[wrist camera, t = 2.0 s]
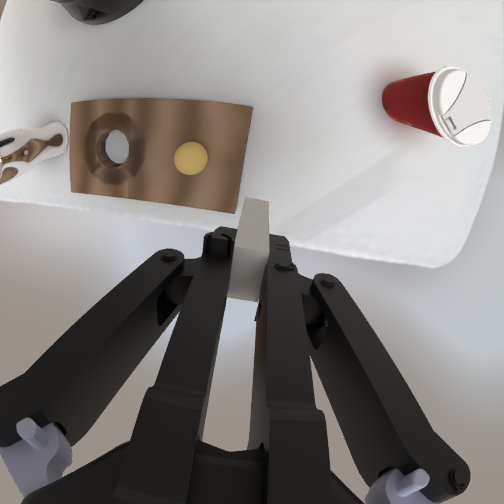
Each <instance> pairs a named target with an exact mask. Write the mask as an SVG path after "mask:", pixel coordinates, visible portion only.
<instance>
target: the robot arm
mask: <svg viewBox="0 0 504 504" xmlns="http://www.w3.org/2000/svg"><path fill="white" fill-rule="evenodd" d="M51 1H55V2H58V3H61V4H62V6H63V7H64V8H65V9H66V10H67V11H68V12H69V13H70V14H71V16H72V17H73V18H75V19H76V20H78V21H81V22H84V23H88V24H103V23H107V22H110V21H112V20H115V19H117V18H119V17H121V16H123V15H124V14H126V13H128V12H129V11H131V10H132V9H133V8H135V7H136V6H137V5H138V4H139V3H140V2H141V1H143V0H51ZM227 297H230V298H235V299H241V300H248V301H254V302H258V300H259V303H258V307H257V312H256V316H255V320H254V321H256V338H255V354H254V371H253V388H252V402H251V418H250V433H249V442H248V447H247V450H244V451H235V452H229V451H225V450H223V449H220V448H217V447H215V446H212V445H210V444H207V443H204V442H202V437H203V431H204V424H205V418H206V413H207V407H208V400H209V395H210V389H211V383H212V377H213V372H214V366H215V361H216V355H217V349H218V343H219V338H220V333H221V328H222V322H223V316H224V311H225V306H226V299H227ZM179 311H180V313H179ZM178 313H179V316H178V318H177V321H176V324H175V327H174V329H173V332H172V335H171V338H170V341H169V344H168V346H167V349H166V352H165V355H164V358H163V361H162V364H161V367H160V370H159V373H158V376H157V379H156V382H155V384H154V386H153V387H149V388H148V389H147V391H146V393H145V396H144V398H143V401H142V404H141V407H140V411H139V414H138V417H137V420H136V423H135V426H134V429H133V433H132V436H131V439H130V441H128V442H125V443H123V444H121V445H119V446H117V447H115V448H114V449H112V450H111V451H109V452H107V453H106V454H104V455H102V456H101V457H99V458H97V459H95V460H94V461H92V462H90V463H88V464H86V465H85V466H83V467H81V468H79V469H77V470H76V471H74V472H72V473H70V474H68V475H66V476H64V477H62V474H63V471H64V470H65V469H66V468H67V467H68V466H70V465H71V463H72V449H71V447H72V446H73V445H75V444H76V443H77V442H78V441H79V440H80V439H81V438H82V437H83V436H84V435H85V434H86V433H87V432H88V431H89V429H90V428H91V427H92V426H93V424H94V423H95V422H96V420H97V419H98V418H99V416H100V415H101V414H102V412H103V411H104V409H105V408H106V407H107V405H108V404H109V403H110V401H111V400H112V399H113V397H114V396H115V395H116V393H117V392H118V391H119V389H120V388H121V387H122V385H123V384H124V383H125V381H126V380H127V379H128V377H129V376H130V375H131V374H132V372H133V371H134V370H135V368H136V367H137V365H138V364H139V363H140V362H141V360H142V359H143V358H144V356H145V355H146V354H147V353H148V351H149V350H150V349H151V347H152V346H153V345H154V344H155V342H156V340H158V338H159V337H160V336H161V334H162V333H163V332H164V331H165V329H166V328H167V327H168V325H169V324H170V323H171V322H172V320H173V319H174V318H175V316H176V315H177V314H178ZM310 356H311V358H312V361H313V363H314V365H315V368H316V370H317V372H318V375H319V377H320V380H321V382H322V385H323V387H324V389H325V392H326V394H327V397H328V399H329V401H330V404H331V406H332V409H333V411H334V413H335V416H336V418H337V421H338V423H339V425H340V428H341V430H342V433H343V435H344V438H345V440H346V443H347V445H348V448H349V450H350V453H351V455H352V458H353V460H354V463H355V465H356V466H357V469H358V471H359V473H360V475H361V476H362V478H363V479H364V481H365V482H366V484H367V485H368V486H369V487H370V489H369V492H368V494H367V495H366V497H365V503H366V504H440V503H442V502H443V501H446V500H448V499H450V498H453V497H455V496H457V495H459V494H461V493H463V492H464V491H465V490H466V488H467V486H468V484H469V482H470V470H469V467H468V465H467V464H466V462H465V461H464V460H463V459H462V458H461V457H460V456H459V455H458V454H457V453H456V452H454V450H453V449H451V447H450V446H449V445H447V444H446V443H445V442H444V441H443V440H442V439H441V438H440V437H439V436H438V435H437V434H436V433H435V432H434V431H433V429H432V427H431V426H430V424H429V422H428V420H427V418H426V417H425V414H424V413H423V411H422V409H421V407H420V406H419V404H418V402H417V401H416V399H415V397H414V395H413V394H412V392H411V390H410V389H409V387H408V385H407V383H406V382H405V380H404V378H403V377H402V375H401V373H400V372H399V370H398V368H397V367H396V365H395V363H394V362H393V360H392V359H391V357H390V355H389V354H388V352H387V351H386V349H385V347H384V346H383V344H382V343H381V341H380V340H379V338H378V336H377V335H376V333H375V332H374V330H373V329H372V328H371V326H370V324H369V323H368V321H367V320H366V318H365V317H364V315H363V314H362V312H361V311H360V309H359V308H358V306H357V305H356V303H355V302H354V300H353V299H352V298H351V296H350V295H349V293H348V292H347V290H346V289H345V287H344V286H343V284H342V283H341V282H340V281H339V280H338V279H337V278H336V277H334V276H332V275H330V274H324V273H320V274H317V275H315V276H314V279H313V280H312V279H309V278H307V277H304V276H302V275H300V274H299V273H298V271H297V267H296V265H294V264H293V263H292V259H291V252H290V246H289V241H288V240H287V239H286V238H285V237H284V236H279V235H273V234H269V202H268V201H263V200H258V199H252V198H246V197H245V200H244V204H243V208H242V213H241V217H240V221H239V226H238V229H234V228H228V227H222V226H220V227H219V228H217V229H215V231H214V232H210V233H207V234H206V235H205V236H204V243H203V253H202V256H201V257H199V258H196V259H184V254H183V253H182V252H180V251H178V250H174V249H163V250H159V251H158V252H156V253H155V254H153V255H152V256H151V257H150V258H149V259H147V260H146V261H145V262H144V263H143V264H141V265H140V266H139V267H138V268H137V269H136V270H134V271H133V272H132V273H131V274H130V275H128V276H127V277H126V278H125V279H124V280H122V281H121V282H120V283H119V284H118V285H117V286H116V287H114V288H113V289H112V290H111V291H110V292H109V293H107V294H106V295H105V296H104V297H103V298H102V299H101V300H100V301H99V302H97V303H96V304H95V305H94V306H93V307H92V308H91V309H90V310H88V311H87V312H86V313H85V314H84V315H83V316H82V317H81V318H80V319H79V320H78V321H77V322H76V323H74V325H72V326H71V327H70V328H69V329H68V330H67V331H66V332H65V333H64V334H63V335H62V336H61V337H60V338H59V339H58V340H57V341H56V342H55V343H54V344H53V345H52V346H51V347H50V348H49V349H48V350H47V351H46V352H45V353H44V354H43V355H42V356H41V357H40V358H39V359H38V360H37V361H36V362H35V363H34V364H33V365H32V366H31V367H30V368H29V369H28V370H27V371H26V372H25V373H24V374H22V375H20V376H19V377H17V378H15V379H13V380H12V381H9V382H8V383H6V384H4V385H2V386H0V454H1V456H2V458H3V460H4V462H5V464H6V466H7V468H8V470H9V472H10V474H11V476H12V478H13V480H14V481H15V483H16V485H17V487H18V488H19V490H20V492H21V493H22V495H23V496H24V499H23V501H22V503H21V504H364V503H363V502H362V501H361V500H360V499H359V498H358V497H357V496H356V495H355V494H354V493H352V491H351V490H350V489H349V488H348V487H347V486H345V484H344V483H343V482H342V481H341V480H340V479H339V478H338V477H337V476H336V475H335V474H334V473H333V472H332V471H331V470H330V459H329V448H328V438H327V429H326V421H325V416H324V413H323V412H322V411H321V410H318V409H317V408H316V405H315V398H314V389H313V380H312V371H311V362H310Z"/></svg>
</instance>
